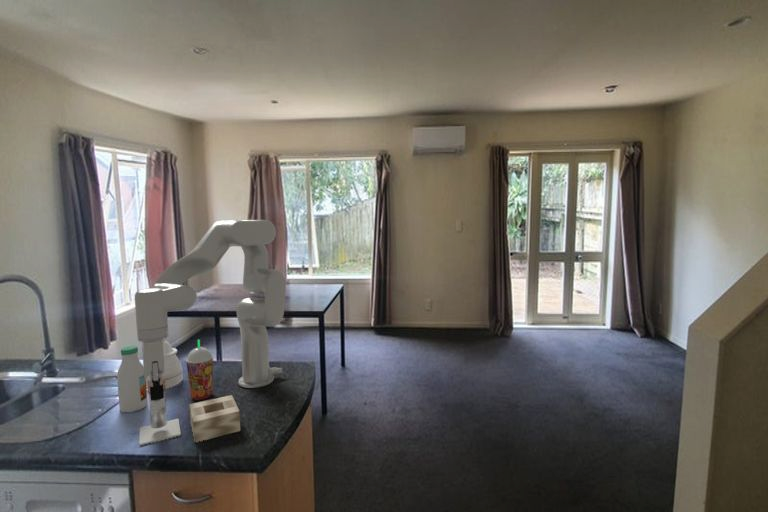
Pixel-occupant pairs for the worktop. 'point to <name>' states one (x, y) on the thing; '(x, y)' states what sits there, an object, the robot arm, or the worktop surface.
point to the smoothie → (200, 372)
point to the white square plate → (159, 432)
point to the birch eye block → (214, 418)
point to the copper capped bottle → (157, 409)
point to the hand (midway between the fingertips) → (157, 394)
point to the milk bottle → (131, 381)
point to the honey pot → (170, 367)
